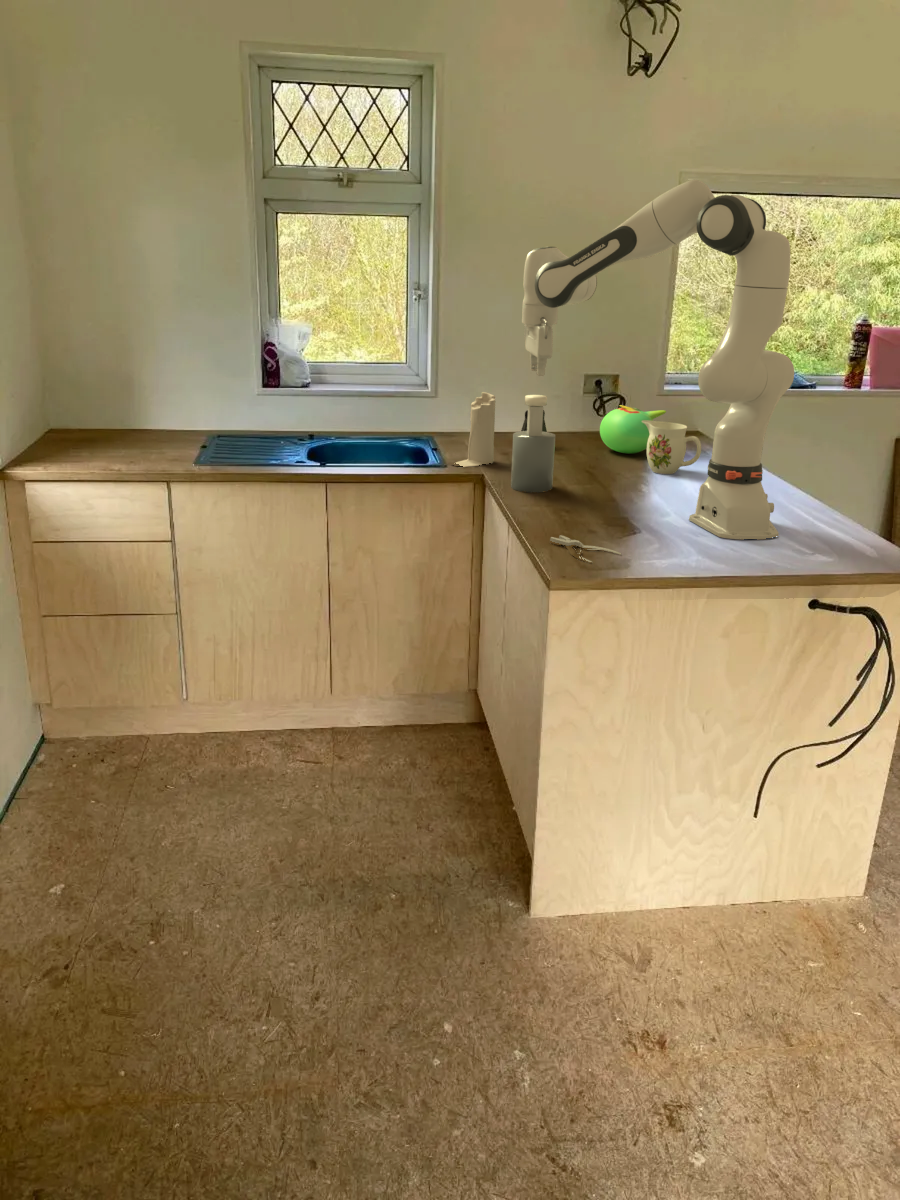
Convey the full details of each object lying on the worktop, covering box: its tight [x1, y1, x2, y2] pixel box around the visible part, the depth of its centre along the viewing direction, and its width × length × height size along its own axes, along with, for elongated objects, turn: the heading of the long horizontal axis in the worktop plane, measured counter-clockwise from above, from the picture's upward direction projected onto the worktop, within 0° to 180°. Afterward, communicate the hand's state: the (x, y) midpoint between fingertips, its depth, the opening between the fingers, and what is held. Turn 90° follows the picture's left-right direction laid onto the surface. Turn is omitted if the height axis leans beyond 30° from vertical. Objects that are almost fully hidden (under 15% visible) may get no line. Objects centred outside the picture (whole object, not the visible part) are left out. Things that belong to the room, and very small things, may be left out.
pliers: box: [549, 534, 622, 563], centre depth 197 cm, size 10×2×15 cm
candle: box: [455, 391, 496, 468], centre depth 268 cm, size 7×14×20 cm, turn 130°
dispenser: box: [510, 405, 556, 493], centre depth 243 cm, size 11×11×22 cm
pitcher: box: [642, 420, 702, 475], centre depth 263 cm, size 11×18×14 cm, turn 58°
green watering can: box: [599, 404, 667, 455], centre depth 287 cm, size 18×17×15 cm
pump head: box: [524, 394, 548, 407], centre depth 240 cm, size 6×6×9 cm
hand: (537, 373), depth 236 cm, fingers open, 8 cm apart
